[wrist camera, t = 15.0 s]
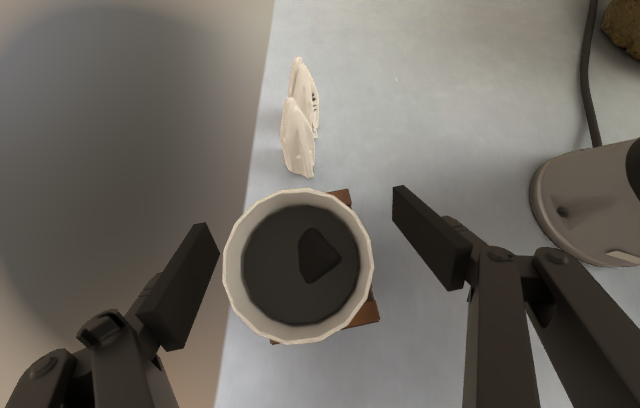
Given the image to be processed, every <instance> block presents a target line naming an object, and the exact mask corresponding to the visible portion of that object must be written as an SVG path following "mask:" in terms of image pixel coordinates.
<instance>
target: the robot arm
mask: <svg viewBox="0 0 640 408" xmlns="http://www.w3.org/2000/svg"><path fill="white" fill-rule="evenodd" d="M597 5H598V0H591V5H590V10H589V16H588V22H587V27H586V32H585V37H584V44H583V51H582V58H581V66H580V84H581V93H582V98H583V103H584V108H585V112H586V117H587V121H588V126H589V131H590V135H591V140H592V146H593V148H587V149H580V150H575V151H571V152H568V153H565V154H562V155H560V156H558V157H556V158H554V159H552V160H550V161H548V162H546V163H545V164H543V165H542V166H541V167H540V168H539V169H538V170H537V172H536V173H535V175H534V177H533V179H532V182H531V187H530V200H531V206H532V209H533V212H534V215H535V217H536V219H537V221H538V223H539V225H540V226H541V228H542V229H543V230H544V232H545V233H546V234H547V236H548V237H549V238H550V239H551V240H552V241H553V242H554V243H555V244H556V245H557V246H559V247H560V248H561V249H562V250H564V251H562V250H559V249H556V248H550V247H541V248H539V249H537V250H536V252H535V254H534V256H517V255H514V254H513V253H511V252H510V251H508V250H506V249H504V248H501V247H497V246H489V245H487V244H486V243H485V242H484V241H482V240H481V239H480V238H479V237H477V236H476V235H475V234H474V233H472V232H471V231H469V230H468V229H467V228H466V227H465V226H463V225H462V224H461V223H460V222H458V221H457V220H456V219H453V218H451V217H449V216H442V217H440V216H439V215H438V214H437V213H436V212H434V211H433V210H432V209H431V208H430V207H429V206H427V205H426V204H425V203H424V202H423V201H422V200H420V199H419V198H418V197H417V196H416V195H415V194H413V193H412V192H411V191H410V190H409V189H408V188H406V187H405V186H404V185H401V186H396V187H393V204H392V221H393V222H394V223H395V224H396V226H397V227H398V228H399V230H400V231H401V232H402V233H403V235H404V236H405V237H406V239H407V240H408V241H409V242H410V244H411V245H412V246H413V247H414V249H415V250H416V251H417V253H418V254H419V255H420V256H421V258H422V259H423V260H424V262H425V263H426V264H427V265H428V267H429V268H430V269H431V271H432V272H433V273H434V274H435V276H436V277H437V278H438V280H439V281H440V282H441V283H442V285H443V286H444V287H445V289H446V290H447V291H448V292H449V291H453V290H458V289H463V286H464V281H465V280H466V281H467V282H468V283H469V285H470V286H471V287H470V291H469V295H468V298H467V302H469V307H468V323H467V339H466V355H465V371H464V387H463V403H462V408H541V407H540V400H539V394H538V388H537V381H536V375H535V369H534V362H533V356H532V350H531V343H530V337H529V331H528V324H527V318H526V312H527V314H528V316H529V318H530V320H531V322H532V324H533V326H534V328H535V330H536V332H537V334H538V336H539V338H540V340H541V342H542V344H543V346H544V348H545V350H546V352H547V355H548V357H549V359H550V361H551V363H552V365H553V367H554V369H555V371H556V373H557V375H558V377H559V379H560V381H561V383H562V385H563V387H564V389H565V391H566V393H567V395H568V397H569V399H570V401H571V403H572V405H573V407H574V408H640V329H639V328H638V327H637V326H636V325H635V324H634V322H633V321H632V320H631V319H630V318H629V317H628V316H627V315H626V313H625V312H624V311H623V310H622V309H621V308H620V307H619V306H618V304H617V303H616V302H615V301H614V300H613V299H612V298H611V297H610V295H609V294H608V293H607V292H606V291H605V290H604V289H603V288H602V287H601V285H600V284H599V283H598V282H597V281H596V280H595V279H594V278H593V276H592V275H591V274H590V273H589V272H588V271H587V270H586V269H585V267H584V266H583V265H582V264H581V263H580V262H579V261H578V260H577V259H579V260H582V261H584V262H587V263H590V264H593V265H597V266H604V267H630V266H638V265H640V137H639V138H637V139H633V140H628V141H623V142H619V143H614V144H609V145H604V146H602V142H601V137H600V133H599V129H598V124H597V120H596V115H595V111H594V107H593V103H592V99H591V94H590V89H589V80H588V63H589V55H590V48H591V40H592V34H593V28H594V23H595V17H596V11H597ZM219 255H220V252H219V250H218V248H217V246H216V244H215V241H214V239H213V237H212V235H211V233H210V231H209V229H208V226H207V224H206V222H204V223H199V224H194V225H193V226H192V228H191V230H190V231H189V233H188V234H187V236H186V237H185V239H184V240H183V242H182V243H181V245H180V246H179V248H178V250H177V251H176V252H175V254H174V255H173V257H172V259H171V260H170V261H169V263H168V265H167V266H166V268H165V269H164V271H163V272H161V273H157V274H156V275H155V276H154V277H153V278H152V279H151V280H150V281H149V282H148V283H147V285H146V286H145V288H144V289H143V291H142V292H141V293H140V295H139V297H138V298H137V299H136V300H135V302H134V303H133V305H132V306H131V308H130V309H129V311H128V312H127V313H126V315H125V316H124V317H123V316H122V315H121V314H120V313H119V312H118V311H117V310H116V309H110V310H106V311H104V312H102V313H99V314H98V315H96V316H94V317H93V318H91V319H90V320H89V321H87V322H86V323H85V324H84V325H83V326H82V327H81V329H80V330H79V331H78V333H77V336H76V338H77V339H78V340H79V341H81V342H82V343H83V344H84V345H85V346H86V348H84V349H82V350H80V351H78V352H76V353H73V354H71V353H69V352H68V351H67V350H66V349H65V348H64V349H57V350H55V351H52V352H50V353H48V354H46V355H45V356H43V357H41V358H40V359H38V360H37V361H36V362H34V363H33V364H32V365H31V366H30V367H29V368H28V369H27V370H26V371H25V372H24V374H23V375H22V376H21V378H20V379H19V381H18V383H17V385H16V387H15V389H14V391H13V393H12V395H11V397H10V399H9V401H8V403H7V404H6V407H5V408H179V406H178V403H177V401H176V398H175V396H174V393H173V391H172V388H171V385H170V383H169V380H168V377H167V375H166V372H165V370H164V367H163V365H162V362H161V359H160V357H159V356H158V355H157V354H156V353H157V351H158V349H159V347H160V345H161V346H162V347H163V348H164V349H165V350H166V352H169V351H173V350H177V349H182V348H184V346H185V343H186V341H187V338H188V336H189V333H190V330H191V328H192V325H193V323H194V320H195V318H196V315H197V312H198V310H199V307H200V304H201V302H202V299H203V297H204V294H205V292H206V289H207V287H208V284H209V281H210V279H211V276H212V274H213V271H214V268H215V266H216V263H217V261H218V258H219ZM576 258H577V259H576ZM525 310H526V312H525Z"/></svg>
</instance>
